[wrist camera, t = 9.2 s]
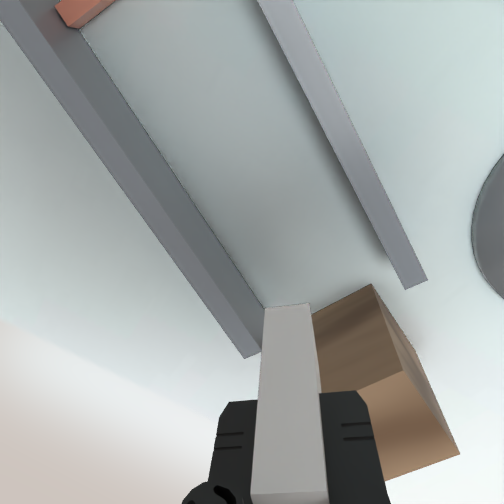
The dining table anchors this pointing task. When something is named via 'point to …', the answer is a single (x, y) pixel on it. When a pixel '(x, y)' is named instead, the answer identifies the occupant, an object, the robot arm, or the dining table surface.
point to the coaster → (490, 229)
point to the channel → (159, 173)
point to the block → (382, 381)
